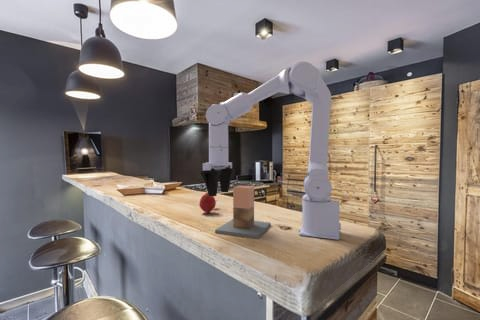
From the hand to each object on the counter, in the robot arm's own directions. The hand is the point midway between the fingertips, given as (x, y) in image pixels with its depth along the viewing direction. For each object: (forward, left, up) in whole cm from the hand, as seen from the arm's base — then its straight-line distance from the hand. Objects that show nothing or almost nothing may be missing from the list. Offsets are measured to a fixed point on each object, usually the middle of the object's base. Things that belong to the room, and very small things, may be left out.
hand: (218, 193), depth 66 cm
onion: (+11, -12, -10) cm, 19 cm away
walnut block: (-8, 0, -9) cm, 12 cm away
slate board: (-8, 0, -9) cm, 12 cm away
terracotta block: (-8, 0, -3) cm, 8 cm away
